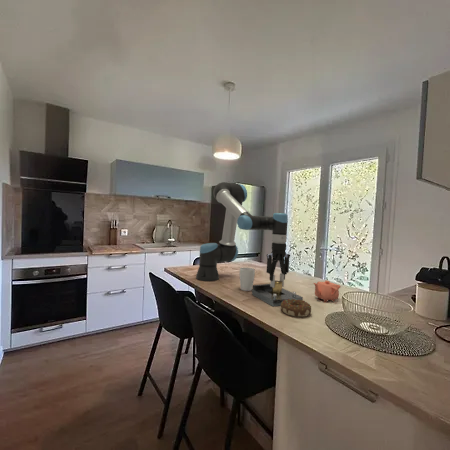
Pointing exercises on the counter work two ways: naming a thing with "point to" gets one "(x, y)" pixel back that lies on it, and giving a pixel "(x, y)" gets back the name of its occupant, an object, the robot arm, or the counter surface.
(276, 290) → the amber grooved cylinder
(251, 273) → the cup
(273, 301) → the jig
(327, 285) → the pink piggy bank
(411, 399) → the counter surface
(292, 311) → the donut
